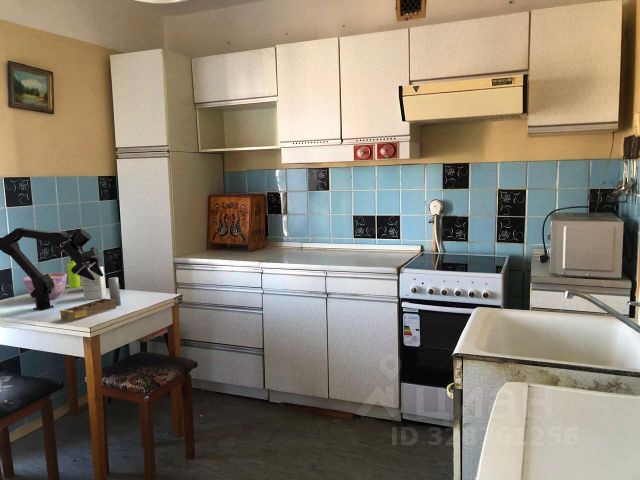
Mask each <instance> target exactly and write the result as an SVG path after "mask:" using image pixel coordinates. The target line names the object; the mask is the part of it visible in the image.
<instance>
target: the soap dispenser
mask: <svg viewBox="0 0 640 480" xmlns="http://www.w3.org/2000/svg"><path fill="white" fill-rule="evenodd" d="M70 259H71V258H70V257H68V263H67V264H66V268H67V271H66V272H67V277H68V287H69V289H77V288H80V287H82V283H81V279H80V277H81V276H80V275H76V274H77V273H76V274H73V273H72V272H71V269H72V268H73V267H74V266H75V265H76V263H75V262H74V261H71V260H70Z"/></svg>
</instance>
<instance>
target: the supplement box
mask: <svg viewBox="0 0 640 480" xmlns="http://www.w3.org/2000/svg"><path fill="white" fill-rule="evenodd" d="M99 267H100V269H101V271H102V273H103V276H102V277H101V276H99V275H98V274H96V273H94V272H92V271H91V270H89V268H88V270H89V271H90V272H91V274H92V275H93V276H94V278H95V280H94V281H93V280H90V279H88V278H85V277H83V276H82V283H81V285H82V284H83V286H82V290H83V291H82V292H83V293H82V294H83V298H84V299H83V300H84V301H86V300H100V299H104V298H105V297H106V295H107V288H106V287H107V286H106V278H105V271H104V266H99Z"/></svg>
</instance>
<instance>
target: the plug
mask: <svg viewBox="0 0 640 480" xmlns="http://www.w3.org/2000/svg"><path fill="white" fill-rule="evenodd" d="M107 280H108V282H107V283H108V289H109V290H108V291H109V299H113V300H115V301H116V307H119V306H121V305H122V302H121V295H120V294H121V293H120V283H119V277H118V276H115V277H114V276H113V277H109V278H108V279H107Z"/></svg>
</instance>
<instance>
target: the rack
mask: <svg viewBox="0 0 640 480" xmlns="http://www.w3.org/2000/svg"><path fill="white" fill-rule="evenodd" d="M115 309H117V306H116V301H115V300H113V299H110V298H102V299H96V300H94V301H90V302H87V303H83V304H79V305H75V306H73V307H69V308H66V309H59V313H60V320H61V321H66V322H76V321H79V320H82V319H85V318H88V317H92V316H95V315H98V314H101V313H105V312H108V311H112V310H115Z"/></svg>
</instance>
